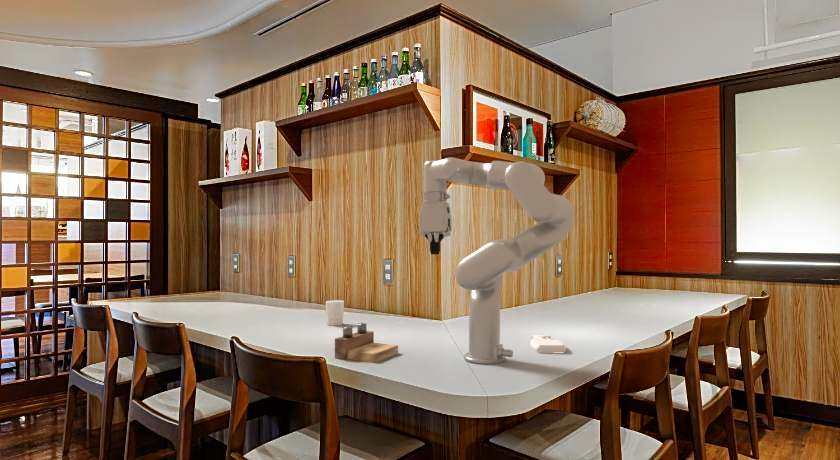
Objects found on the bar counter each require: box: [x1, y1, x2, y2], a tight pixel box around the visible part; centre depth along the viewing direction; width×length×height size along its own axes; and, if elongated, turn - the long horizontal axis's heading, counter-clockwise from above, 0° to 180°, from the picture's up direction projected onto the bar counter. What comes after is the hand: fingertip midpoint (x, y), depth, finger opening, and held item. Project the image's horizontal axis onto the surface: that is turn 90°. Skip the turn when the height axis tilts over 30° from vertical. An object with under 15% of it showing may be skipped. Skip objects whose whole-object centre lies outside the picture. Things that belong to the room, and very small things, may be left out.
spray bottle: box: [530, 334, 567, 354], centre depth 182 cm, size 3×11×24 cm
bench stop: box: [334, 322, 375, 360], centre depth 169 cm, size 4×16×9 cm, turn 152°
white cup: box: [325, 299, 345, 327], centre depth 225 cm, size 8×8×10 cm
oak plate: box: [346, 342, 399, 363], centre depth 166 cm, size 10×14×3 cm
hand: (435, 254), depth 172 cm, fingers closed
